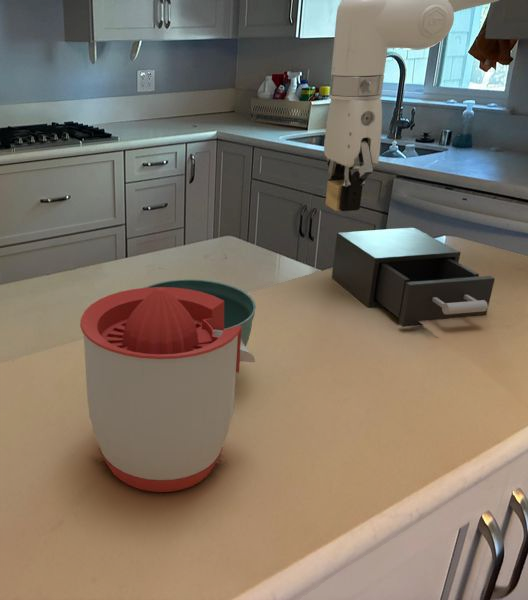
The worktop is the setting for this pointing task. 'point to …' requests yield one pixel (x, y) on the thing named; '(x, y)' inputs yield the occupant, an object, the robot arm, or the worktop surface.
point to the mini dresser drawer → (431, 290)
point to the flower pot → (235, 300)
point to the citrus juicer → (161, 383)
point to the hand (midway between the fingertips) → (342, 205)
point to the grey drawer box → (380, 256)
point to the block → (334, 194)
